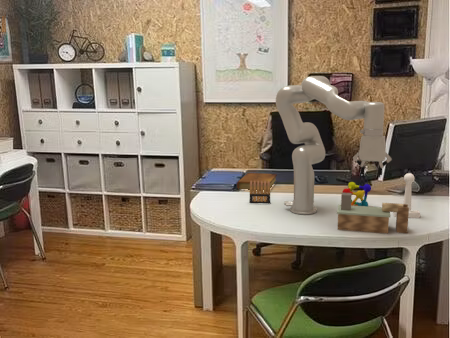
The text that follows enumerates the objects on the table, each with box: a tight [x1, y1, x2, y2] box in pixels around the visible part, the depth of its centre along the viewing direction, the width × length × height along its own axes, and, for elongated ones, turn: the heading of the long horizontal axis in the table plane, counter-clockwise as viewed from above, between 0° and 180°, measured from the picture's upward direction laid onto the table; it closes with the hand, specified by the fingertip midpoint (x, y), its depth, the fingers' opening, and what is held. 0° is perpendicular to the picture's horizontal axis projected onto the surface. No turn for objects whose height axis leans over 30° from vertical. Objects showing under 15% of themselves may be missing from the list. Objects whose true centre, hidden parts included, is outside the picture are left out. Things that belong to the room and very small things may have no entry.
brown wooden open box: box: [337, 203, 409, 234], centre depth 189 cm, size 28×10×11 cm, turn 73°
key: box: [381, 202, 403, 213], centre depth 186 cm, size 8×2×3 cm, turn 73°
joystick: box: [392, 172, 421, 219], centre depth 205 cm, size 11×8×20 cm
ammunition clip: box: [249, 181, 271, 204], centre depth 229 cm, size 11×2×12 cm, turn 84°
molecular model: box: [341, 181, 372, 207], centre depth 218 cm, size 15×12×15 cm
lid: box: [336, 192, 391, 218], centre depth 189 cm, size 21×11×7 cm, turn 73°
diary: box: [236, 172, 278, 190], centre depth 265 cm, size 23×19×6 cm
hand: (371, 176), depth 186 cm, fingers open, 5 cm apart
